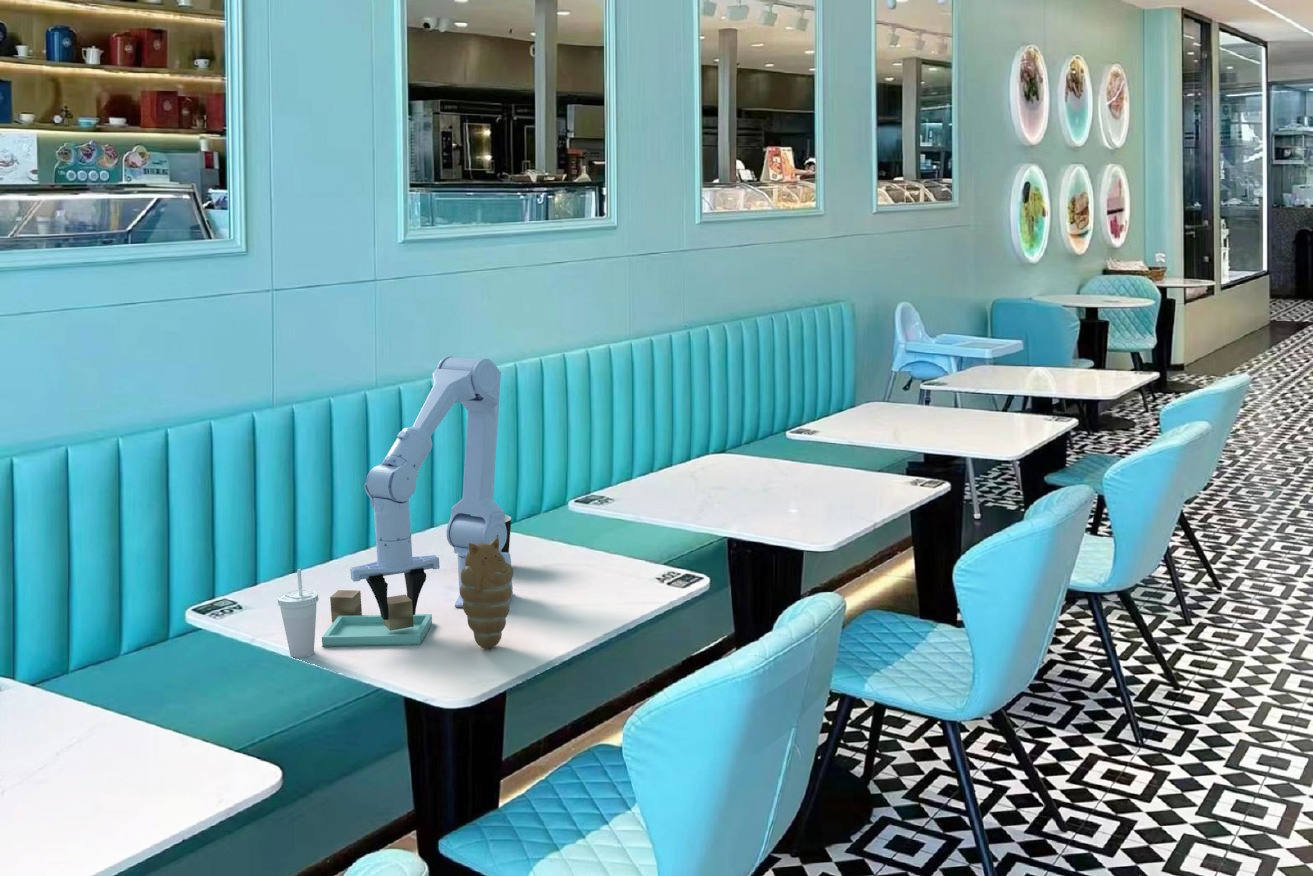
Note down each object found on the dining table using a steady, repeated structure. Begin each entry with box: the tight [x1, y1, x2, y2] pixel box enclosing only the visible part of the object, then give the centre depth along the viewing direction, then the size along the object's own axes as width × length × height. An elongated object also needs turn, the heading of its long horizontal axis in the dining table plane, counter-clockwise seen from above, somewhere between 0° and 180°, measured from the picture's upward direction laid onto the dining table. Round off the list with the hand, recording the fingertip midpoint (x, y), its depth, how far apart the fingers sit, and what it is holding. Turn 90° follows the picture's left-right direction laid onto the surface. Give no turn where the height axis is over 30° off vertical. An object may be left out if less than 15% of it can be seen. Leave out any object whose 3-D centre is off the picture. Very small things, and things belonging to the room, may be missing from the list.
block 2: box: [383, 594, 414, 631], centre depth 219 cm, size 4×4×4 cm
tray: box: [321, 613, 433, 648], centre depth 220 cm, size 16×11×2 cm
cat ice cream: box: [459, 538, 514, 649], centre depth 211 cm, size 9×8×18 cm
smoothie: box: [276, 568, 320, 658], centre depth 210 cm, size 6×6×14 cm
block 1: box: [329, 589, 363, 623], centre depth 228 cm, size 4×4×4 cm
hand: (398, 615), depth 219 cm, fingers closed on block 2, 4 cm apart
